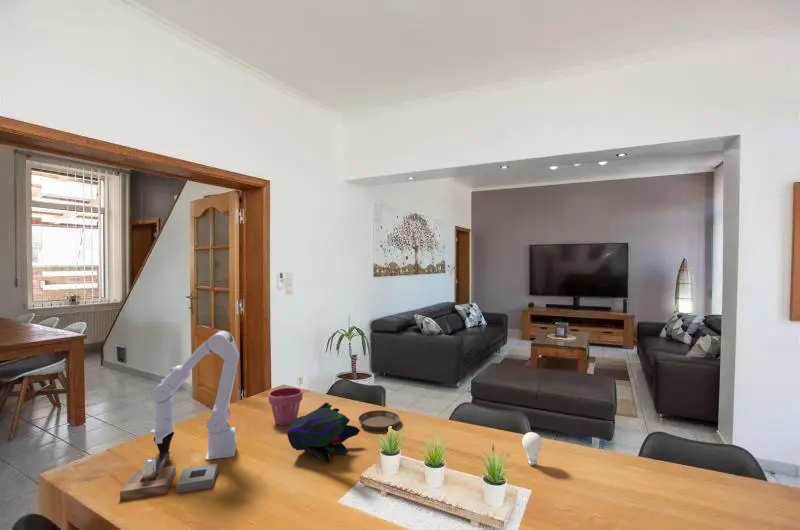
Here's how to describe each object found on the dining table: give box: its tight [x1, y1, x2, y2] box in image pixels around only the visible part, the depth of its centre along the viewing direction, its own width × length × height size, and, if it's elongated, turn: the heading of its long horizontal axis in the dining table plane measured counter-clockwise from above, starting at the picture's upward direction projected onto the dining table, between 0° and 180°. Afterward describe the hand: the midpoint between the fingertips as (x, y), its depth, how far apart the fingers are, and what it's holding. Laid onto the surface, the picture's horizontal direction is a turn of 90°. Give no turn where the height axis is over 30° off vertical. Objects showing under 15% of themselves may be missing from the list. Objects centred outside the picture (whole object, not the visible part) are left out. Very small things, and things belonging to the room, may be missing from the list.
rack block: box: [176, 463, 218, 493], centre depth 127 cm, size 10×10×2 cm
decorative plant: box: [287, 402, 361, 465], centre depth 143 cm, size 21×26×30 cm
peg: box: [142, 457, 157, 482], centre depth 125 cm, size 3×3×8 cm
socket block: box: [119, 465, 177, 501], centre depth 125 cm, size 12×12×2 cm
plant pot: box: [268, 387, 303, 426], centre depth 176 cm, size 14×14×13 cm
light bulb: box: [521, 431, 544, 466], centre depth 136 cm, size 7×7×11 cm
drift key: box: [154, 451, 171, 475], centre depth 136 cm, size 4×10×3 cm, turn 17°
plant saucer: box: [357, 409, 401, 432], centre depth 172 cm, size 18×18×3 cm
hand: (164, 455), depth 142 cm, fingers closed
